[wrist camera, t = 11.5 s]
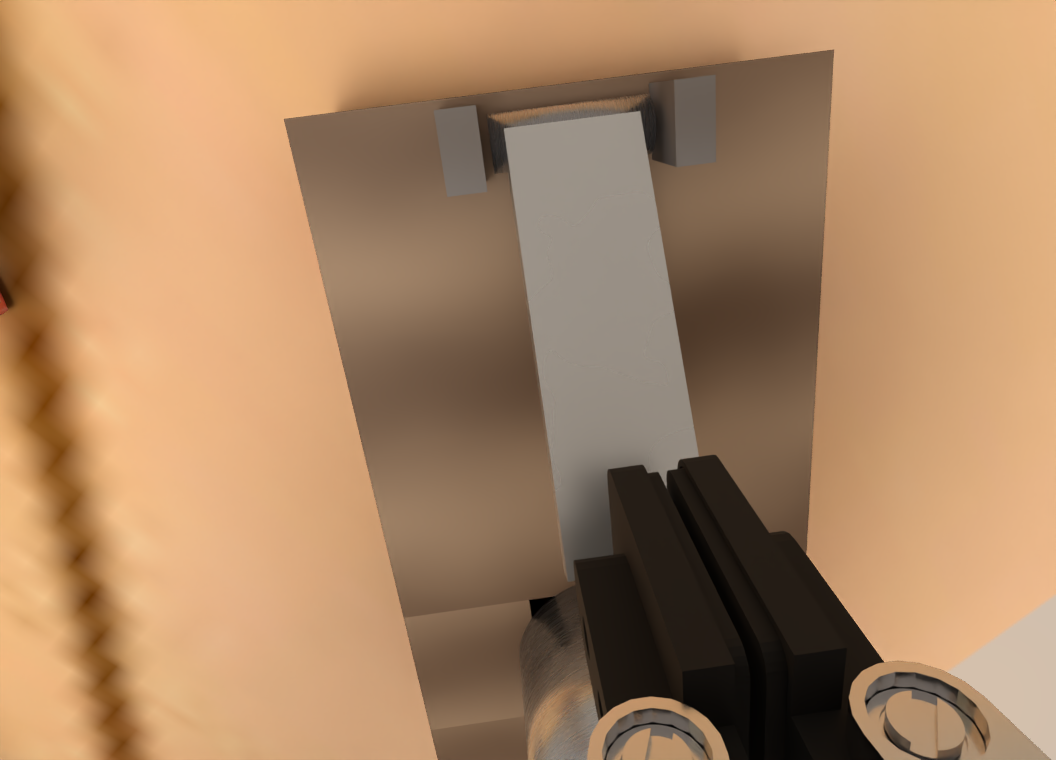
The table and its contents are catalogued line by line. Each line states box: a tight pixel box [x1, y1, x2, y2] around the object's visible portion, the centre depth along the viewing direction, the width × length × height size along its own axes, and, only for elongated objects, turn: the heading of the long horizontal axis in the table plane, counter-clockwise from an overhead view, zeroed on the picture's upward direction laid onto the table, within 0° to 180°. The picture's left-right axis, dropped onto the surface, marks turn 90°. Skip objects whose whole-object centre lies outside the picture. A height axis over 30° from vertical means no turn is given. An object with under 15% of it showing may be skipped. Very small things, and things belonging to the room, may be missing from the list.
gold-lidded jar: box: [519, 585, 599, 760], centre depth 20 cm, size 6×6×12 cm
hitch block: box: [284, 50, 834, 760], centre depth 20 cm, size 22×12×8 cm, turn 7°
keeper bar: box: [487, 94, 699, 582], centre depth 14 cm, size 10×3×1 cm
